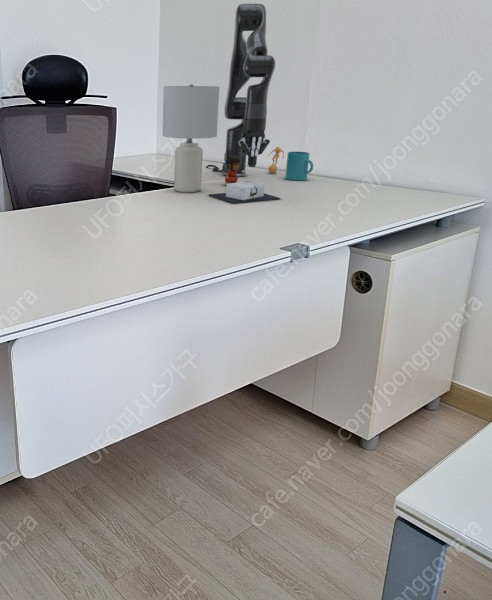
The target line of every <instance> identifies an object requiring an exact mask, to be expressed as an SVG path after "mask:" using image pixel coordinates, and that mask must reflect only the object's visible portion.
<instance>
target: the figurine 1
mask: <svg viewBox="0 0 492 600" xmlns="http://www.w3.org/2000/svg"><path fill="white" fill-rule="evenodd" d="M240 163H241V161H240V159H239V157H238V156H235V155H233V156H229V157H227V160H226V164H227V165H228V166H229V167H230V169H229V171H228V172H227V175H225V177H224V181H225V182H224V186H226V185H227V184H230V183H238V179H239V178H238V177H237V171H236V170H238V168H239V165H240Z"/></svg>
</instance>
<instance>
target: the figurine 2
mask: <svg viewBox="0 0 492 600" xmlns="http://www.w3.org/2000/svg"><path fill="white" fill-rule="evenodd" d="M273 152H275V154H273ZM280 153H282V159H284V158H285V152H284V151H283V149H282V148H281V147H279V146H276V148H275V149H273V150H272V151H271V152H270V153H269V154H268V158H269V157H270V155H272V154H273V157H272V158H271V159H272V164H270V165H269V166H268V169H267V170H268V172H269V173H270V174H272V175H273V174H276V173H277V171H278V166H277V164H278V160H279V158H280Z"/></svg>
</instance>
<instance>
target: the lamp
mask: <svg viewBox="0 0 492 600" xmlns="http://www.w3.org/2000/svg"><path fill="white" fill-rule="evenodd" d="M162 92H163V94H162V97H163V98H162V99H163V100H162V137H164V138H170V139H186V140H185V142H180V143H179V146H177V147H176V148H175V151H174V178H173V179H174V181H173V186H174V190H175V191H177V192H179V193H197V192H199V191H200V190H201V188H202V177H203V176H202V175H203V174H202V173H203V155H204V152H203V149H202V148H201V146H199V143H198V142H193V139H212V138H213V139H214V138H217V136H218V122H219V121H218V119H219V103H220V102H219V101H220V86H218V85H217V86H215V85H214V86H213V85H212V86H211V85H194V84H192V83H191V84H189V85H163V91H162Z"/></svg>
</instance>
